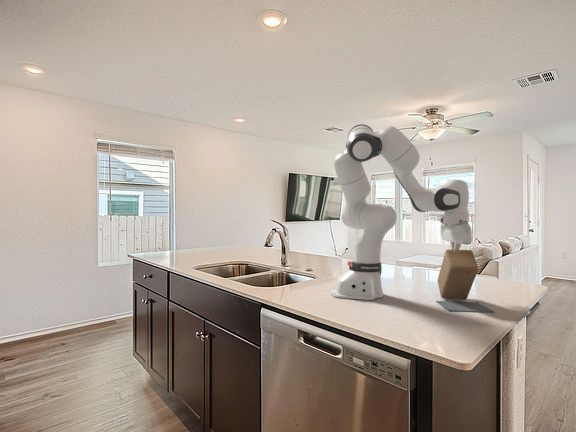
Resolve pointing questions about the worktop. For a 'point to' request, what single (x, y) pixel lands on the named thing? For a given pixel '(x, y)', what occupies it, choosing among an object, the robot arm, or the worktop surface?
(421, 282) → the worktop surface
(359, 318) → the worktop surface
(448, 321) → the worktop surface
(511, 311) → the worktop surface
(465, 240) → the robot arm
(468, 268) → the wooden block
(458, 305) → the mat
